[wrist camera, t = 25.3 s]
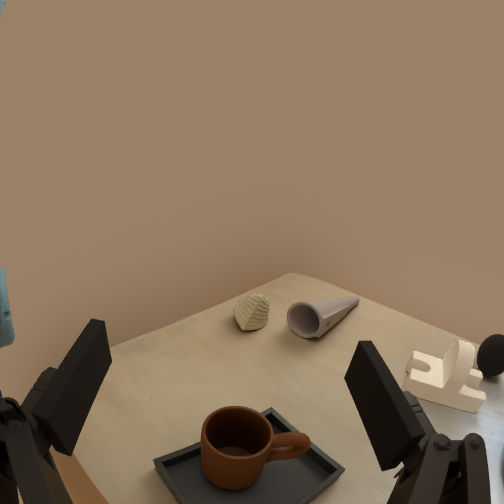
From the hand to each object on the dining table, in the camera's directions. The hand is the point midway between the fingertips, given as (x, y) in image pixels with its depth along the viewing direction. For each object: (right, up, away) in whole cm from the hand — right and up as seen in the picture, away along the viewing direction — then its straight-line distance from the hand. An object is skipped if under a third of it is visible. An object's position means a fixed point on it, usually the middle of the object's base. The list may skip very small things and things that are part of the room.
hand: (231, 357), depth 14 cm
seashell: (0, -10, +50) cm, 51 cm away
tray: (+1, -23, +14) cm, 27 cm away
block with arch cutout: (+39, -22, +30) cm, 54 cm away
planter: (+19, -10, +56) cm, 60 cm away
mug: (+1, -22, +15) cm, 27 cm away
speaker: (+56, -23, +33) cm, 69 cm away
